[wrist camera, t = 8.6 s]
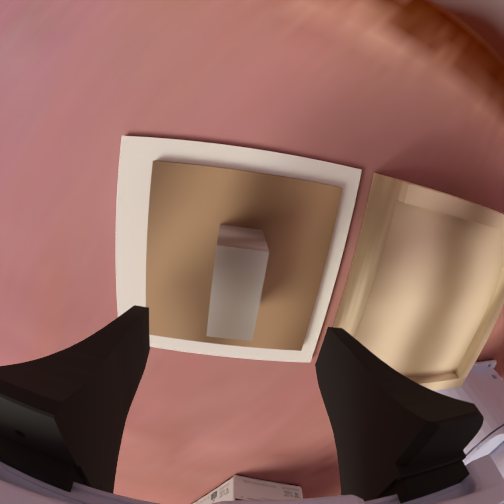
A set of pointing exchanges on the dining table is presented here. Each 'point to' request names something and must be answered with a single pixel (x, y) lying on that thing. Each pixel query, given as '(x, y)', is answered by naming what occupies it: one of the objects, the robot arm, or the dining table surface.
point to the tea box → (251, 491)
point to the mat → (149, 149)
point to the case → (424, 281)
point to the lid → (235, 254)
